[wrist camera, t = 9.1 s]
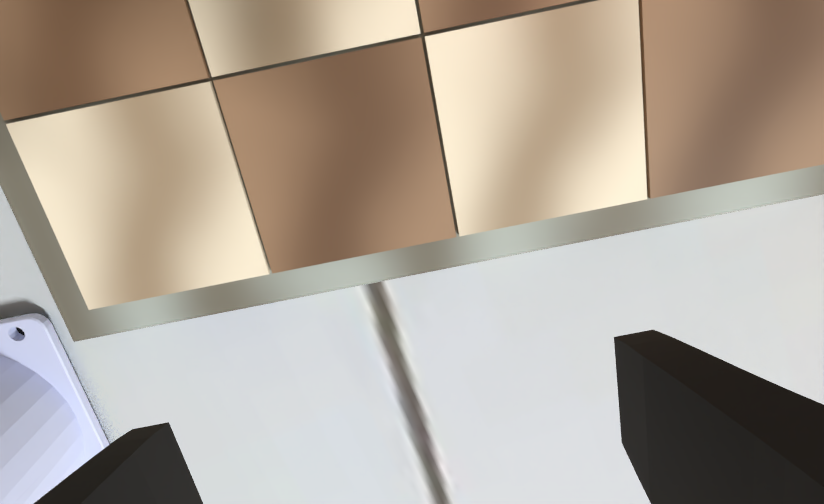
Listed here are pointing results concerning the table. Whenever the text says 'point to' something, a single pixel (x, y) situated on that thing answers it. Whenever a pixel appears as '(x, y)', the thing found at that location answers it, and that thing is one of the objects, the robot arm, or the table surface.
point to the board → (381, 137)
